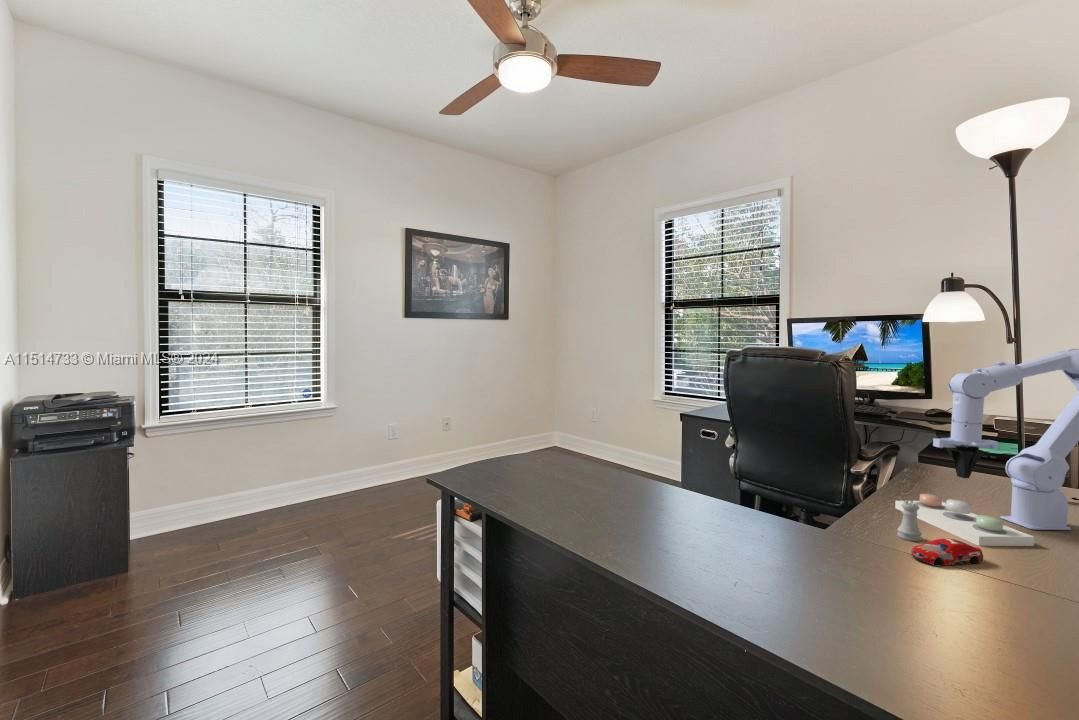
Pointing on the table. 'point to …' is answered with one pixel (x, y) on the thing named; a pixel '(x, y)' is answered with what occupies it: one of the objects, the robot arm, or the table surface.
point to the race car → (947, 552)
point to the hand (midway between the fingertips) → (963, 477)
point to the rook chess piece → (909, 522)
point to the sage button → (989, 523)
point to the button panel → (969, 527)
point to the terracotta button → (931, 500)
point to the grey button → (958, 506)
